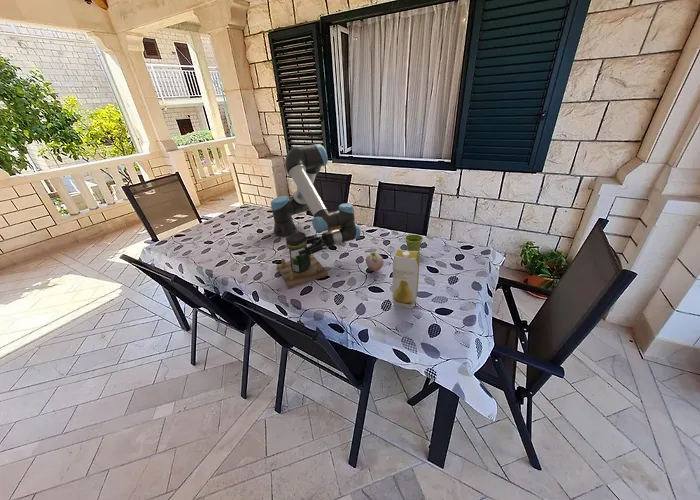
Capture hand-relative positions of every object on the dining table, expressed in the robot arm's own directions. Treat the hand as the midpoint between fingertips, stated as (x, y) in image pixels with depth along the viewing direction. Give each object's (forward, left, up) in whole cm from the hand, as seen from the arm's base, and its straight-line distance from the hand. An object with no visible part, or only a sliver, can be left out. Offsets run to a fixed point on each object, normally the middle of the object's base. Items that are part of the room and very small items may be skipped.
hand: (288, 250), depth 129 cm
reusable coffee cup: (-26, +37, -14) cm, 47 cm away
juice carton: (+47, +33, -14) cm, 59 cm away
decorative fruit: (+20, +36, -14) cm, 43 cm away
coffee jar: (0, +5, -11) cm, 12 cm away
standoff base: (0, +5, -13) cm, 14 cm away
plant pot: (+16, +63, -14) cm, 66 cm away
